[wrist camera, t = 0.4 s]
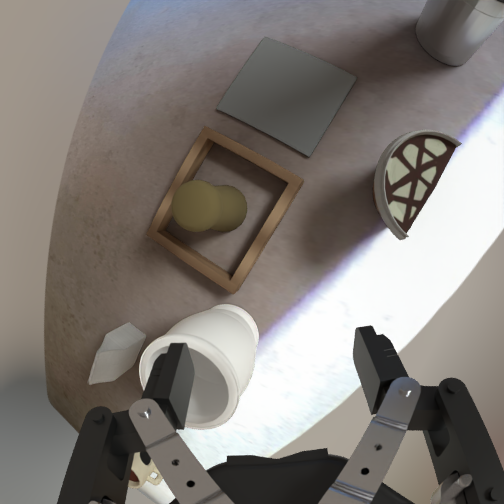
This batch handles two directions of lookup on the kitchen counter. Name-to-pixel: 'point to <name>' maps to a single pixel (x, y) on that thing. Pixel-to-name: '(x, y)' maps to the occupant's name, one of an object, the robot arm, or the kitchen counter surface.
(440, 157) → the food container
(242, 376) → the jar
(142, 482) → the character mug
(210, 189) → the olive pawn figure
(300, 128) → the mat
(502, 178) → the kitchen counter surface
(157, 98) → the kitchen counter surface
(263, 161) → the frame
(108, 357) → the white tea box
